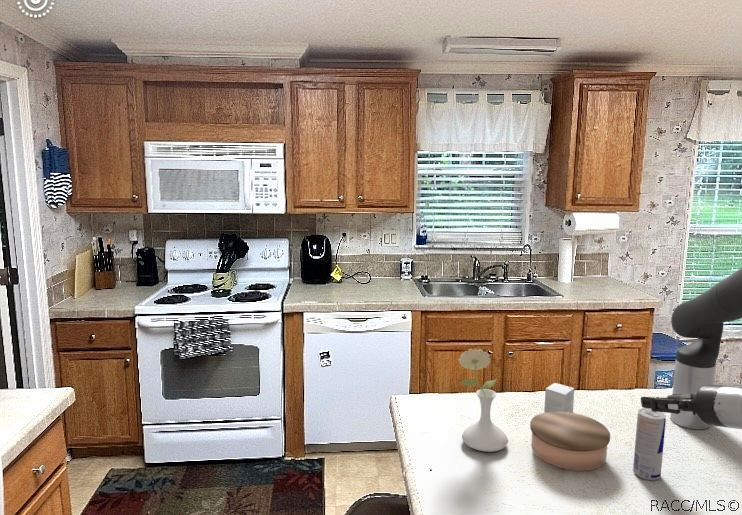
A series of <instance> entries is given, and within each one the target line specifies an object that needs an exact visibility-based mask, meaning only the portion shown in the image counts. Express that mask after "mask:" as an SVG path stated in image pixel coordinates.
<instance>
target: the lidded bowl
mask: <svg viewBox="0 0 742 515" xmlns="http://www.w3.org/2000/svg"><path fill="white" fill-rule="evenodd" d="M529 427H530V431H531V443H530V444H531V445H530V446H531V450H532V451H533V453H534V454H535V455H536V457H538V458H539V459H541V460H543V461H545V462H546V463H548V464H550V465H552V466H556V467H558V468H562V469H565V470H572V471H587V470H588V471H589V470H594V469H597V468H601V466H603V465H604V464H605V463H606V461H607V454H608V453H607V452H608V445H609V444H610V442H611V432H610V430H609V429H608V428H607V426H606V425H604V424H602V423H601V422H600V421H598V420H596V419H594V418H592V417H589V416H586V415H583V414H580V413H575V412H572V413H571V412H561V411H553V412H542V413H539V414H536V415H535V416H533V417H532V418H531V420H530V423H529Z"/></svg>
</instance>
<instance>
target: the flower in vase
mask: <svg viewBox="0 0 742 515" xmlns="http://www.w3.org/2000/svg"><path fill="white" fill-rule="evenodd" d="M457 360H458V362H459V364H460V366H461V367H462V368H463V369H465V370H466V369H468V370H469V371H472V370H473V371H474V374H475V375H474V378H475V380H473V379H471V378H466V379H464V380H462V381H461V382H460V383H459V384H460V385H464V386H468V387H473V386H475V385H476V384H477V385H478V387H479V388H480V389H477V390H476V391H475V394H476V396H477V397H478V400H479V402H480V418H479V420H478V421H476V422H474V423H472V424H471V425H469V426H468V427H466V428H465V429H464V431H463V432H462V434H461V438H462V439H461V440H463V442H464V444H465V445H467V446H468V447H469V448H470V449H474V450H476V451H481V452H487V453H488V452H497V451H501V450H503V449H504V448H505V447H506V446H507V445H508V444H509V443H508V442H509V439H508V436H507V434H506V433H505V431H504V430H502V429H501V428H500V427H499V426H497V424H495V423H494V422H492V419H491V407H492V402H493V401H494V399H495V398H496V396H497V392H496V391H494V390H492V389H491V388H492V387H494V386H495V385H496V384H497V380H498V379H497V378H495V379H493V380H488V381H485V383H484V384H483V385H482V386H481V385H480V383H479V382H478V379H477V378H478V377H477V370H482V369H485V368H487V366H489V364H490V363H491V362H492V361H491V357H490V354H489V353H488V352H487V351H483V349H482V348H479V349H478V348H474V349H472V348H469V349H468V351H467V350H464V352H461V354H460V356H459V358H457Z"/></svg>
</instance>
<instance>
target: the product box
mask: <svg viewBox="0 0 742 515" xmlns="http://www.w3.org/2000/svg"><path fill="white" fill-rule="evenodd" d="M574 401H575V388H574V387H572V386H567V385H564V384H560V383H557V382H554V383H552V384H550V385H548V387H546V388H545V394H544V408H543V413H545V412H553V411H561V412H571V413H574V403H575V402H574Z"/></svg>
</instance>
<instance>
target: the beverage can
mask: <svg viewBox="0 0 742 515" xmlns="http://www.w3.org/2000/svg"><path fill="white" fill-rule="evenodd" d="M666 418H667V415H666V414H665V412H654V411H651V409H650V408H643V407H642V408H639V409H638V410H637V418H636V429H635V430H636V431H635V441H634V454H633V464H632V466H633V467H632V471H633V472H634V474H635V475H636V476H638V477H640V478H641V479H644V480H647V481H655V480H656V481H657V480H659V479H660V478H661V477H662V476H661V475H662V468H663V467H662V465H663V455H664V453H663V452H664V442H665V432H666V420H667V419H666Z"/></svg>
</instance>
